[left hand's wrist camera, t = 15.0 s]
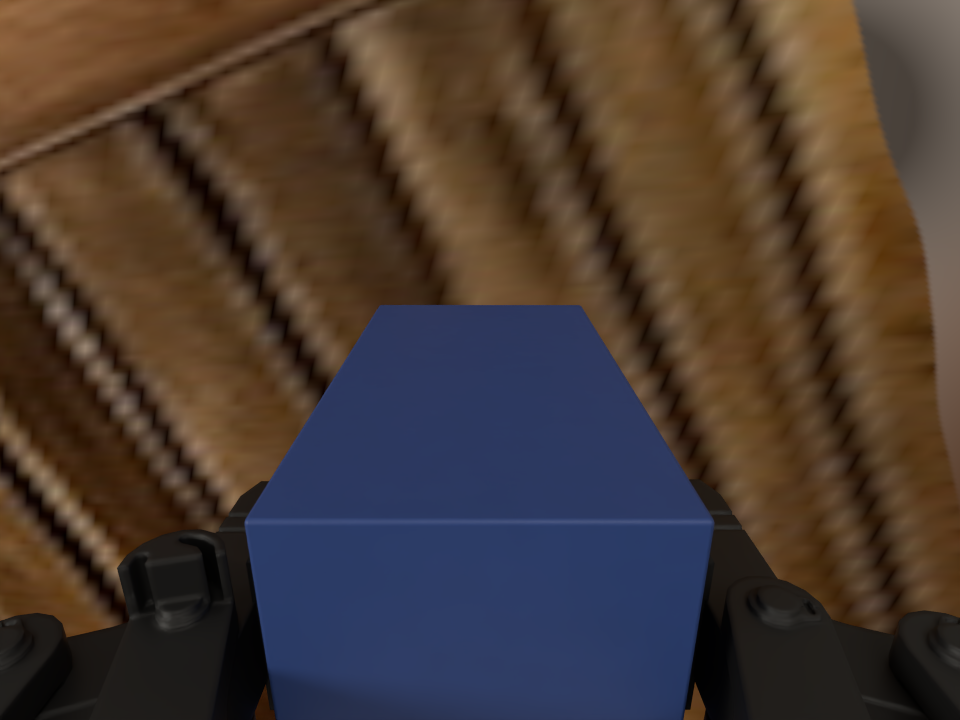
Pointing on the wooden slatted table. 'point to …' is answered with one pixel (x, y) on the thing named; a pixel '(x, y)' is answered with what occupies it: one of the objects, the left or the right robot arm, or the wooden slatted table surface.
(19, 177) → the wooden slatted table surface
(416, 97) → the wooden slatted table surface
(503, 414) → the bar
